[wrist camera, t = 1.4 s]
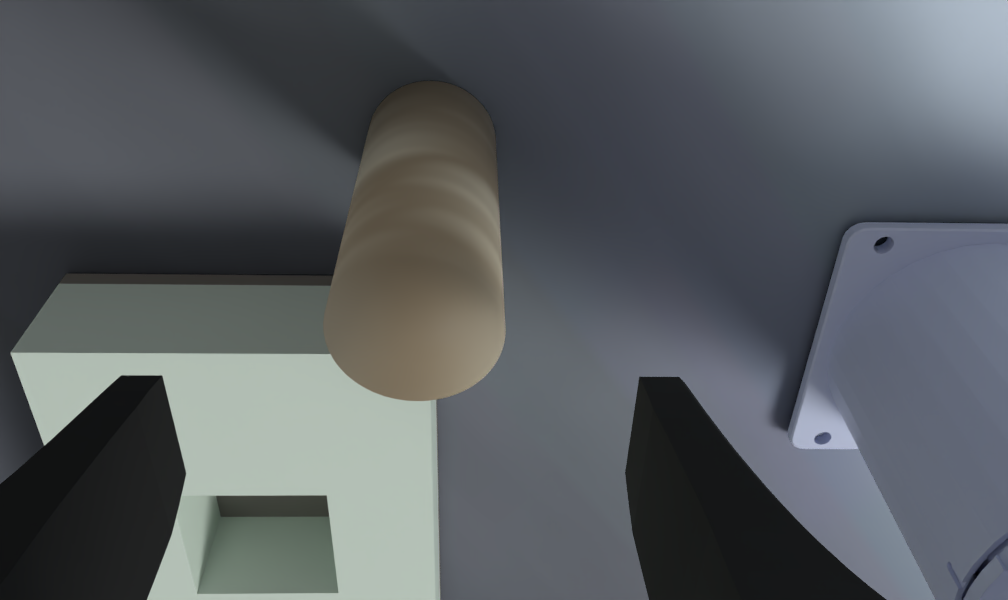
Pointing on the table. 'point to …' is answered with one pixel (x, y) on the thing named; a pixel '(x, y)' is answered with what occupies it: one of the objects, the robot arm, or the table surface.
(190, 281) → the socket block
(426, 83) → the peg
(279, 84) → the table surface
